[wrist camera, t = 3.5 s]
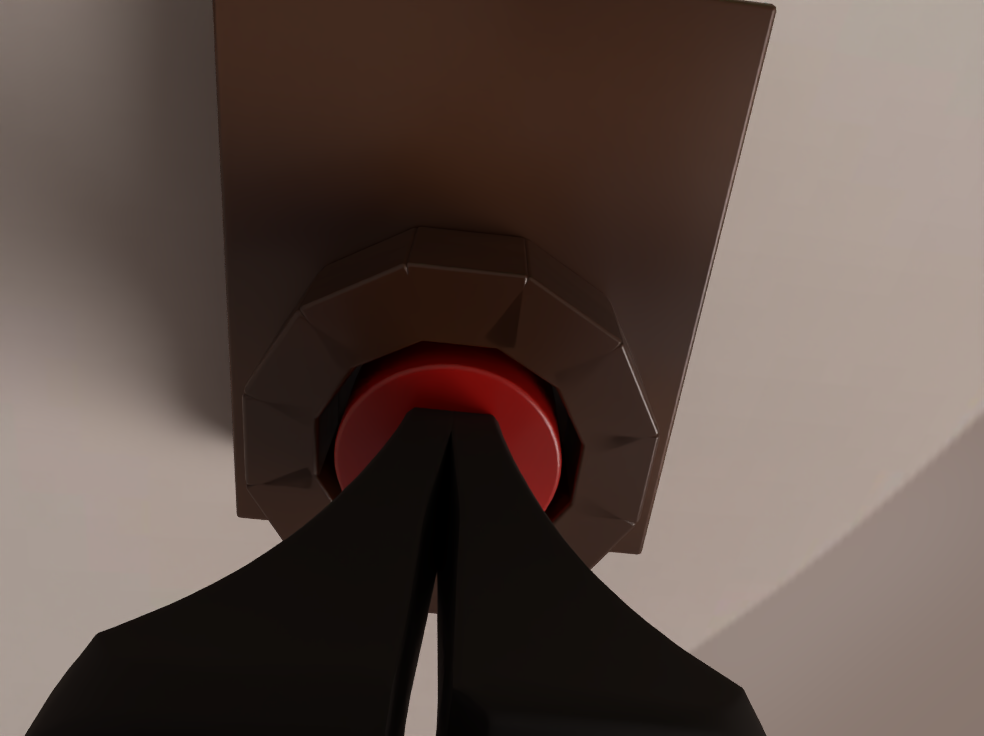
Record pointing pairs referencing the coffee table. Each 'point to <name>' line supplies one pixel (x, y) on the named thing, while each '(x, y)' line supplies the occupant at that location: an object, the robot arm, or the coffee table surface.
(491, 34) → the switch box
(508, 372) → the light button
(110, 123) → the coffee table surface
